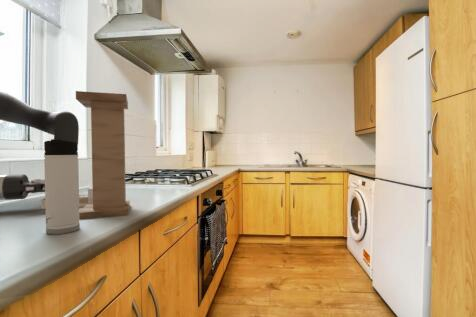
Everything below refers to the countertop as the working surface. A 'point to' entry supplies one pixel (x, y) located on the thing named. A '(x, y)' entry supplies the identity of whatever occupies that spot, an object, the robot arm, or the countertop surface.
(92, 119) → the stand
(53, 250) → the countertop surface
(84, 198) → the mallet
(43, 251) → the countertop surface
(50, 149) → the travel mug
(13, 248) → the countertop surface
